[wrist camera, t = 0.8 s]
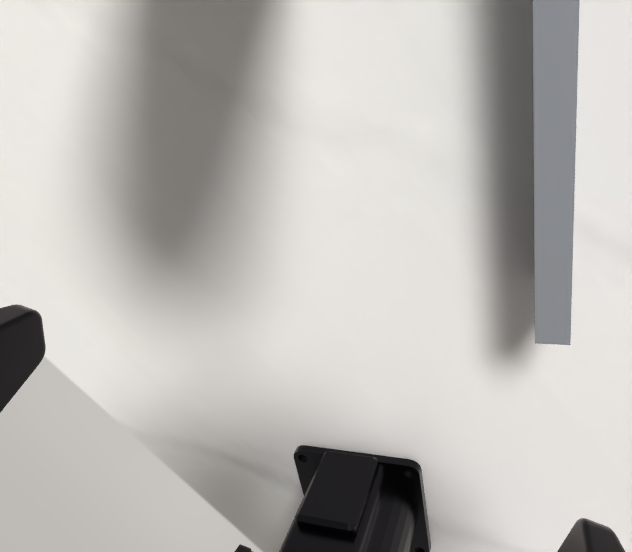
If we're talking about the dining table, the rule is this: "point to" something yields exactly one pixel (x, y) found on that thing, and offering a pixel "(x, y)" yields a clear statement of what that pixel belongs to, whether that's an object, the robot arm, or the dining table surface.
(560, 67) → the grey u-shaped fence
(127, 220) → the dining table surface
